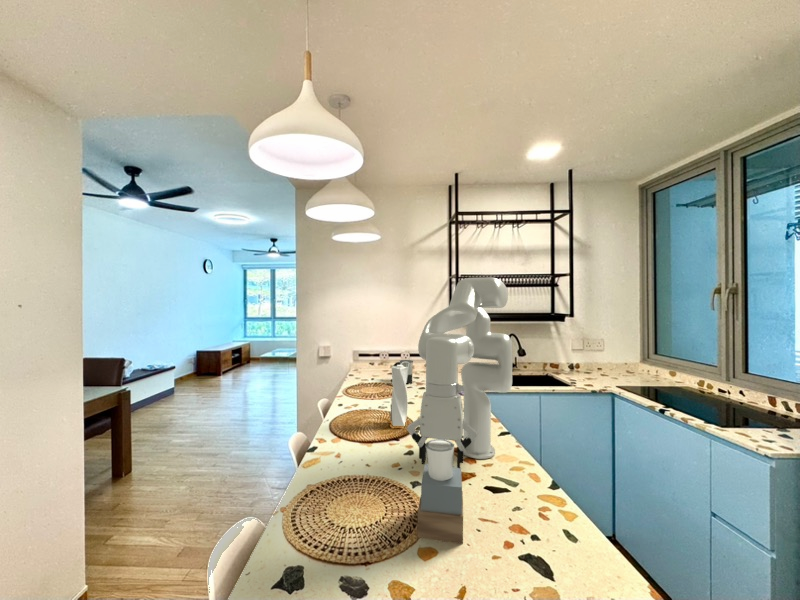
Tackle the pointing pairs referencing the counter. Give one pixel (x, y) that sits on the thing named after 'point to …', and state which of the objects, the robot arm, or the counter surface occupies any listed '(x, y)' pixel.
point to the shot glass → (440, 459)
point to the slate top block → (442, 493)
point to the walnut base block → (440, 525)
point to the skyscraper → (399, 395)
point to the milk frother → (409, 377)
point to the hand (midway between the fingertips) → (441, 463)
